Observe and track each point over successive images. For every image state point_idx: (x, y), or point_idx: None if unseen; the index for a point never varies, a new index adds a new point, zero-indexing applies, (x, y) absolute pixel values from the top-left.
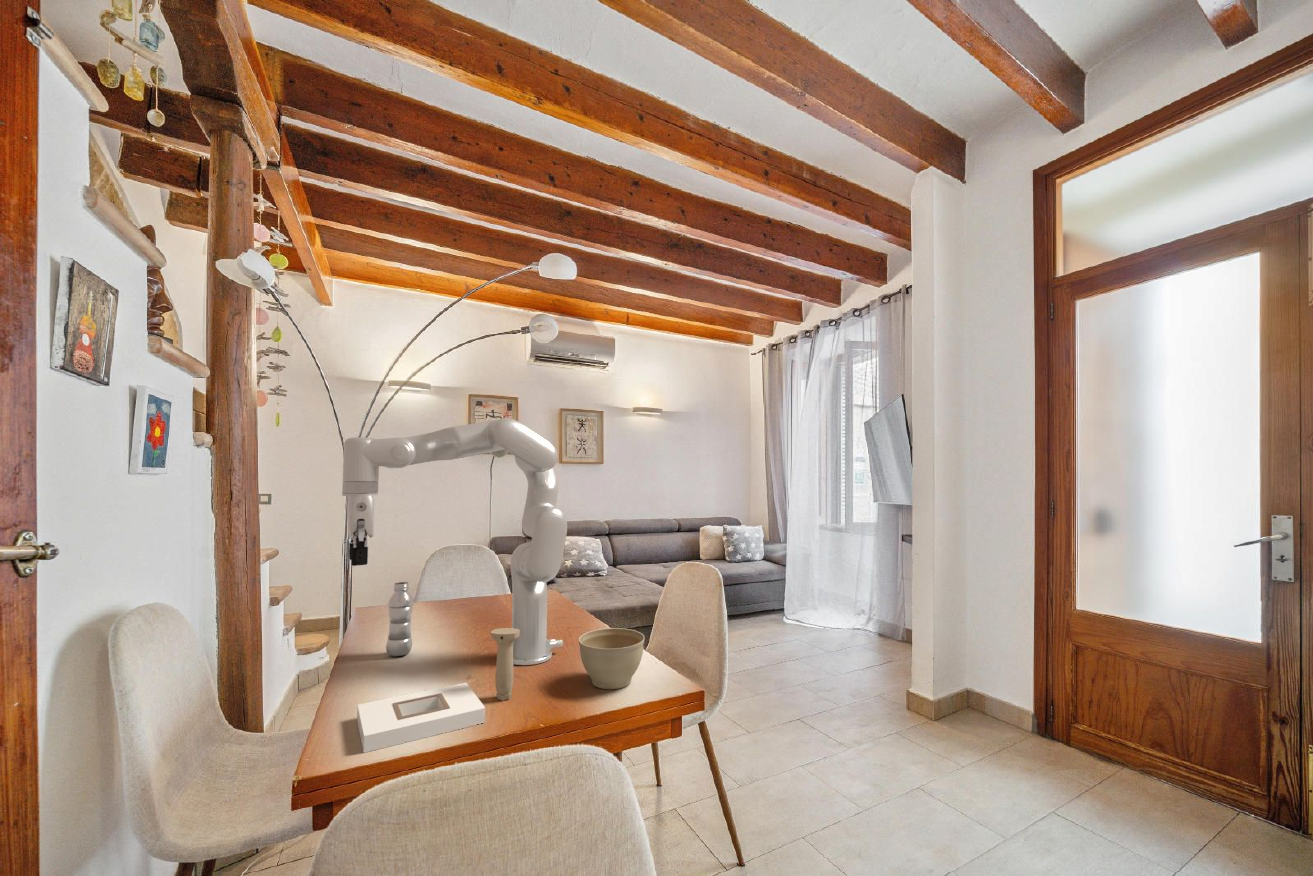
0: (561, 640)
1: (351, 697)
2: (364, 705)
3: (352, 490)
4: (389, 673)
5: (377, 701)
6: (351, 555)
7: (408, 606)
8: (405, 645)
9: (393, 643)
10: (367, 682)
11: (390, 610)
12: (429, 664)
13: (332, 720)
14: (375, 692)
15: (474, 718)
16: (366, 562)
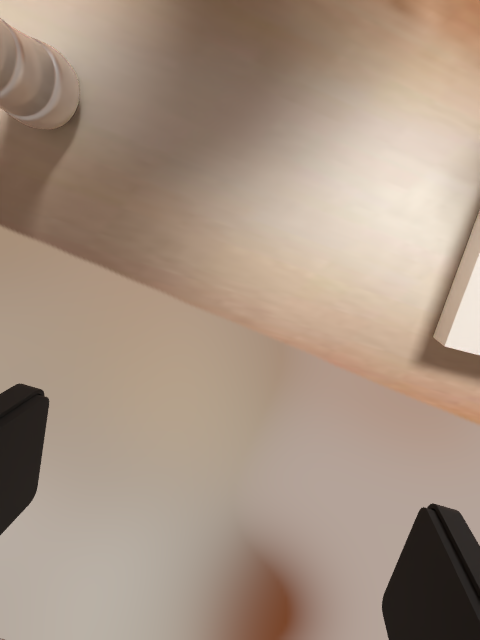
0: None
1: (290, 302)
2: (464, 337)
3: None
4: (191, 175)
5: (465, 307)
6: (12, 514)
7: None
8: (68, 75)
9: (51, 110)
10: (217, 242)
11: None
12: (198, 53)
13: (392, 372)
14: (302, 251)
15: None
16: (457, 525)
